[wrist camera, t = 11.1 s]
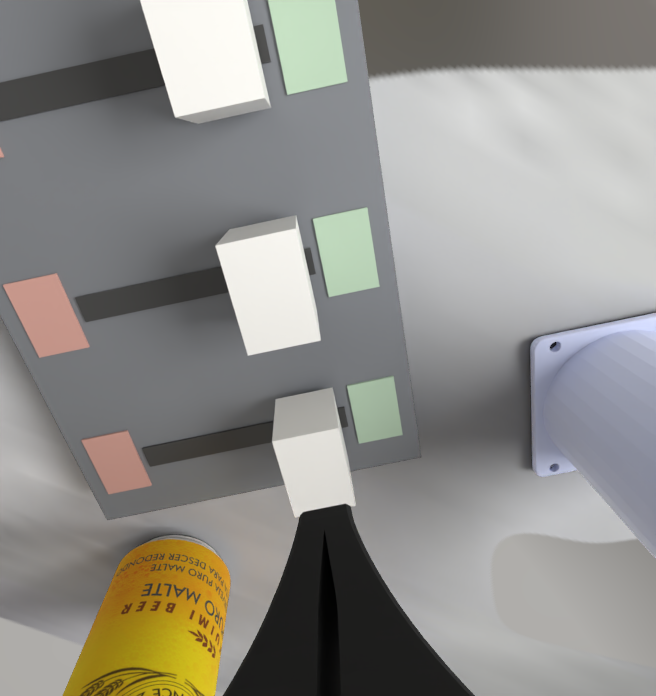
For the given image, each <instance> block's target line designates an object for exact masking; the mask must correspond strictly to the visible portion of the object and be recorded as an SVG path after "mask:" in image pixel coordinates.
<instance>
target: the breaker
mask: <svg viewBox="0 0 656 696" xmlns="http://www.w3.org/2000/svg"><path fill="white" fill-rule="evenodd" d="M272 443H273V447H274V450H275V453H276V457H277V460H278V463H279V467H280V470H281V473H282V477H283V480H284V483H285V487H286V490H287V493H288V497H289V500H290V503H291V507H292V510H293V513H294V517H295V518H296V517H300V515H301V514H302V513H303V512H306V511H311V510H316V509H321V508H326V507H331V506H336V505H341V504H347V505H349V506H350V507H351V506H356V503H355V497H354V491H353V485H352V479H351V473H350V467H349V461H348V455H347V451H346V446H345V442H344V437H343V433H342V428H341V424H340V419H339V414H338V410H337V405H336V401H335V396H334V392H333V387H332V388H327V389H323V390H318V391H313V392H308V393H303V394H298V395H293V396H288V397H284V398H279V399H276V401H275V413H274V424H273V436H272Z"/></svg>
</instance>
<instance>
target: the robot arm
mask: <svg viewBox="0 0 656 696" xmlns="http://www.w3.org/2000/svg"><path fill="white" fill-rule="evenodd" d="M554 342H557V343H556V346H555V347H554V348H552V349H550V345H551V344H552V343H554ZM530 357H531V418H532V468H533V471H534V472H535V473H536V474H537V475H538V476H540V477H545V476H550V475H555V474H560V473H565V472H570V471H575V470H578V471H579V472H580V473H581V475H582V476H583V477H584V478H585V479H586V480H587V481H588V483H589V484H590V485H591V486H592V487H593V488H594V489H595V491H596V492H597V493H598V494H599V495H600V496H601V497H602V498H603V500H604V501H605V502H606V503H607V504H608V505H609V506H610V508H611V509H612V510H613V511H614V512H615V513H616V514H617V515H618V517H619V518H620V519H621V520H622V521H623V522H624V523H625V525H626V526H627V527H628V528H629V529H630V530H631V531H632V533H633V534H634V535H635V536H636V537H637V538H638V539H639V540H640V542H641V543H642V544H643V545H644V546H645V547H646V548H647V549H648V551H649V552H650V553H651V554H652V555H653V556H654V558H655V559H656V313H652V314H647V315H643V316H638V317H633V318H628V319H623V320H618V321H613V322H608V323H604V324H599V325H594V326H589V327H584V328H579V329H574V330H569V331H565V332H560V333H555V334H550V335H545V336H541V337H538V338H536V339H535V340H534V341H533V342H532V344H531V348H530ZM553 464H555V465H554V466H552V467H550V466H551V465H553ZM223 696H475V695H474V694H473V693H472V692H471V691H470V690H469V689H468V688H467V687H466V686H465V685H464V684H463V683H462V682H461V680H460V679H459V678H458V677H457V676H456V675H455V674H454V673H453V672H452V671H451V670H450V668H449V667H448V666H447V665H446V664H445V662H444V661H443V660H442V659H441V658H440V657H439V655H438V654H437V653H436V652H435V651H434V649H433V648H432V647H431V646H430V645H429V644H428V642H427V641H426V640H425V639H424V638H423V636H422V635H421V634H420V632H419V631H418V630H417V628H416V627H415V626H414V624H413V623H412V622H411V620H410V619H409V618H408V616H407V615H406V614H405V612H404V611H403V609H402V608H401V607H400V605H399V604H398V602H397V601H396V599H395V598H394V596H393V595H392V593H391V592H390V590H389V588H388V587H387V585H386V584H385V582H384V580H383V579H382V577H381V576H380V574H379V572H378V570H377V569H376V567H375V565H374V563H373V561H372V560H371V558H370V556H369V554H368V552H367V550H366V548H365V546H364V544H363V542H362V540H361V538H360V535H359V533H358V531H357V528H356V526H355V523H354V520H353V516H352V511H351V507H350V506H349V505H347V504H341V505H336V506H331V507H326V508H321V509H316V510H311V511H306V512H303V513H302V514H301V515H300V518H299V523H298V527H297V531H296V535H295V538H294V542H293V545H292V549H291V552H290V555H289V558H288V561H287V564H286V567H285V569H284V572H283V575H282V578H281V581H280V583H279V586H278V588H277V591H276V593H275V595H274V598H273V600H272V603H271V605H270V607H269V610H268V612H267V614H266V617H265V619H264V621H263V623H262V625H261V627H260V629H259V632H258V634H257V636H256V638H255V640H254V641H253V643H252V645H251V647H250V649H249V651H248V653H247V655H246V657H245V658H244V660H243V662H242V664H241V666H240V667H239V669H238V671H237V673H236V675H235V676H234V678H233V680H232V681H231V683H230V685H229V687H228V688H227V690H226V691H225V693H224V695H223Z"/></svg>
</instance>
